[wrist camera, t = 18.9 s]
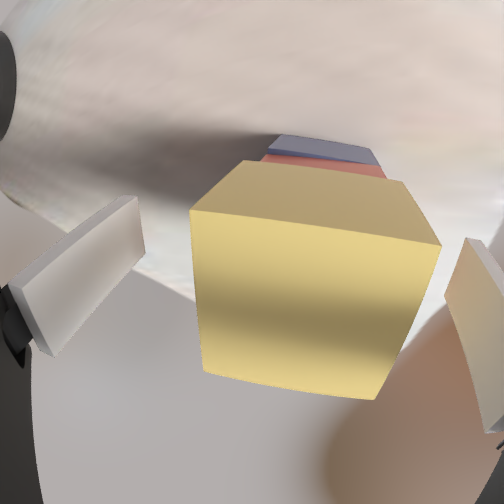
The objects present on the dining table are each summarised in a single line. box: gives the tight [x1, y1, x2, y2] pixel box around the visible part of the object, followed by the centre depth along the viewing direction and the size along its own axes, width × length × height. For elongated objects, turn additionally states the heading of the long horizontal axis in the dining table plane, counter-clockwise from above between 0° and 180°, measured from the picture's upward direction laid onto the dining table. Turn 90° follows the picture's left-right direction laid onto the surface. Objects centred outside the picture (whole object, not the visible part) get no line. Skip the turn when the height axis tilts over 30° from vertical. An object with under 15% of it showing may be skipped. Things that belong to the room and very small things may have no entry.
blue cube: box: [268, 134, 381, 167], centre depth 19 cm, size 6×6×5 cm
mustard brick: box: [189, 160, 442, 400], centre depth 11 cm, size 6×6×5 cm
